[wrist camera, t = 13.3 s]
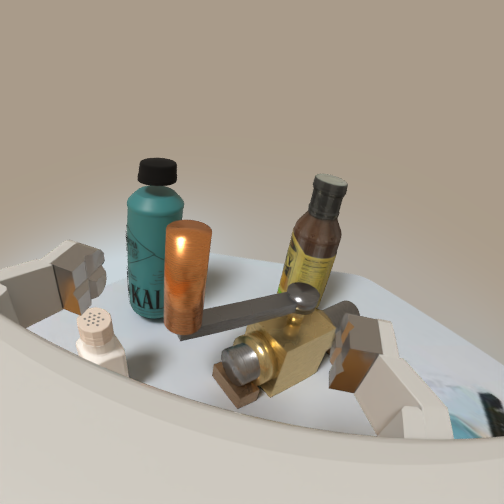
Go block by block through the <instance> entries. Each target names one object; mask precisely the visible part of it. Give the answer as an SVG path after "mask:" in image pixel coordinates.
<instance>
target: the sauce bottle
mask: <svg viewBox="0 0 504 504" xmlns="http://www.w3.org/2000/svg"><path fill="white" fill-rule="evenodd" d="M347 186H348V184H347V182H346V181H345V180H342V179H341V178H339V177H336V176H332V175H328V174H317V175H316V176H315V179H314V182H313V187H314V190H313V194H312V198H311V202H310V204H309V209H308V211H307V212H306V213H305V214H304V215H303V216H302V217H301V218H300V219H299V220H298V221H297V222H296V225H295V227H294V228H293V232H292V236H291V241H290V245H289V248H288V252H287V256H286V261H285V264H284V268H283V272H282V276H281V280H280V284H279V287H278V291H277V294H278V293H283V292H287V288H288V286H289V285H290V284H292V283H295V282H302V283H306V284H309V285H311V286H313V287H315V288H316V289H317V290H318V292H319V294H320V297H319V300H318V303H317V306H316V308H315V309H317V307H318V306H319V303H320V301H321V298H322V295H323V292H324V289H325V287H326V284H327V281H328V278H329V275H330V272H331V269H332V266H333V263H334V260H335V257H336V254H337V249H338V246H339V243H340V239H341V229H340V227H339V223H338V220H337V218H338V215H339V210H340V206H341V202H342V199H343V197H344V196H345V194H346V191H347Z"/></svg>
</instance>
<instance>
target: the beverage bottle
mask: <svg viewBox="0 0 504 504" xmlns="http://www.w3.org/2000/svg"><path fill="white" fill-rule="evenodd" d="M138 181H139V182H140V183H143V184H146V185H150V186H145V187H142V188H139V189H138V190H137V191H135V192H134V193H133V194H132V195H131V196H130V197H129V198H128V201H127V206H128V216H127V218H128V219H127V237H126V238H127V239H126V240H127V249H128V250H127V251H128V271H127V275H128V276H127V282H128V277H129V285H128V287H129V288H128V291H129V294H128V296H129V295H130V304H131V307H132V308H133V310H134V311H135V312H136V313H137V314H139V315H140V316H143V317H146V318H161V317H164V270H165V242H166V227H167V225H168V224H170V223H172V222H174V221H178V220H182V214H183V208H184V201H183V200H182V198H181V197H180V196H179V195H178V194H177V193H176V192H175V191H174V190H172V189H171V188H168V187H165V186H167V185H171V184H174V183H176V181H177V164H176V162H174V161H173V160H170V159H165V158H148V159H144V160H142V161H141V162H140V166H139V173H138Z"/></svg>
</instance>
